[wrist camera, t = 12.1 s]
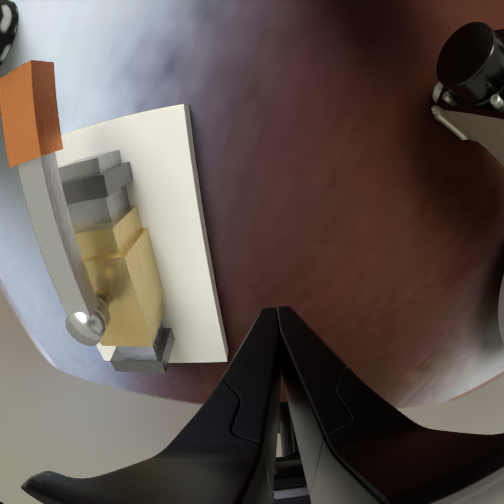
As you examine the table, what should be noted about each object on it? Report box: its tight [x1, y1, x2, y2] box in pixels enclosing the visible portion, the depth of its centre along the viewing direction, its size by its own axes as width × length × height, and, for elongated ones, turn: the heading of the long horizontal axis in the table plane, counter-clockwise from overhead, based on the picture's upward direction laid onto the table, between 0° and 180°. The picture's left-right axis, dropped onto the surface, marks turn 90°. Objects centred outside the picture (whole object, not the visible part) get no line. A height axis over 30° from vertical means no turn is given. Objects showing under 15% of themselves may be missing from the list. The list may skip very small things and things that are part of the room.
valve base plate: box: [55, 104, 228, 363], centre depth 21 cm, size 20×12×2 cm, turn 5°
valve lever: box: [0, 60, 111, 346], centre depth 12 cm, size 14×2×3 cm, turn 5°
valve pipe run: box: [58, 149, 175, 373], centre depth 18 cm, size 16×5×4 cm, turn 5°
